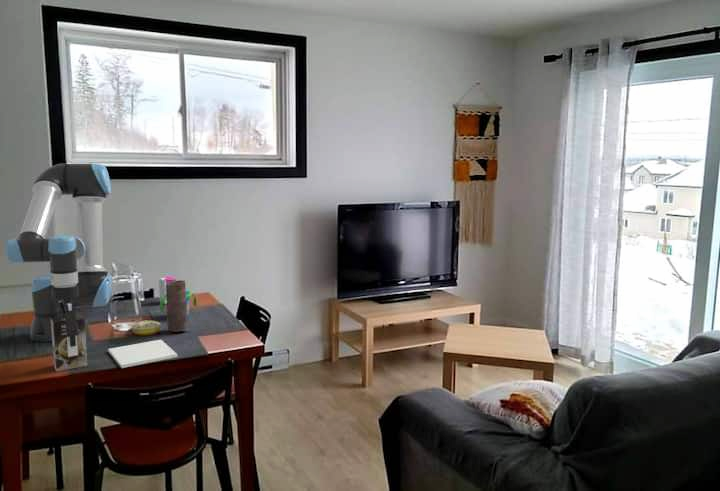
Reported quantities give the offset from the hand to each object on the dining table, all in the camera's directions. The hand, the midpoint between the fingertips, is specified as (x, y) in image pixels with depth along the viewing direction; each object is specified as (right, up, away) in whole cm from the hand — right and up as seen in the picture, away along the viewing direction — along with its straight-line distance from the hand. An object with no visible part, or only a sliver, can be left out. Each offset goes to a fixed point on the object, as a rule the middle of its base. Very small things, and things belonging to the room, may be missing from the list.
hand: (69, 349), depth 180 cm
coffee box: (0, -6, +1) cm, 6 cm away
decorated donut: (+11, 0, +36) cm, 38 cm away
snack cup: (+17, +3, +56) cm, 59 cm away
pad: (+19, -4, +12) cm, 23 cm away
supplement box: (+5, +7, +77) cm, 78 cm away
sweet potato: (+23, 0, +37) cm, 44 cm away
